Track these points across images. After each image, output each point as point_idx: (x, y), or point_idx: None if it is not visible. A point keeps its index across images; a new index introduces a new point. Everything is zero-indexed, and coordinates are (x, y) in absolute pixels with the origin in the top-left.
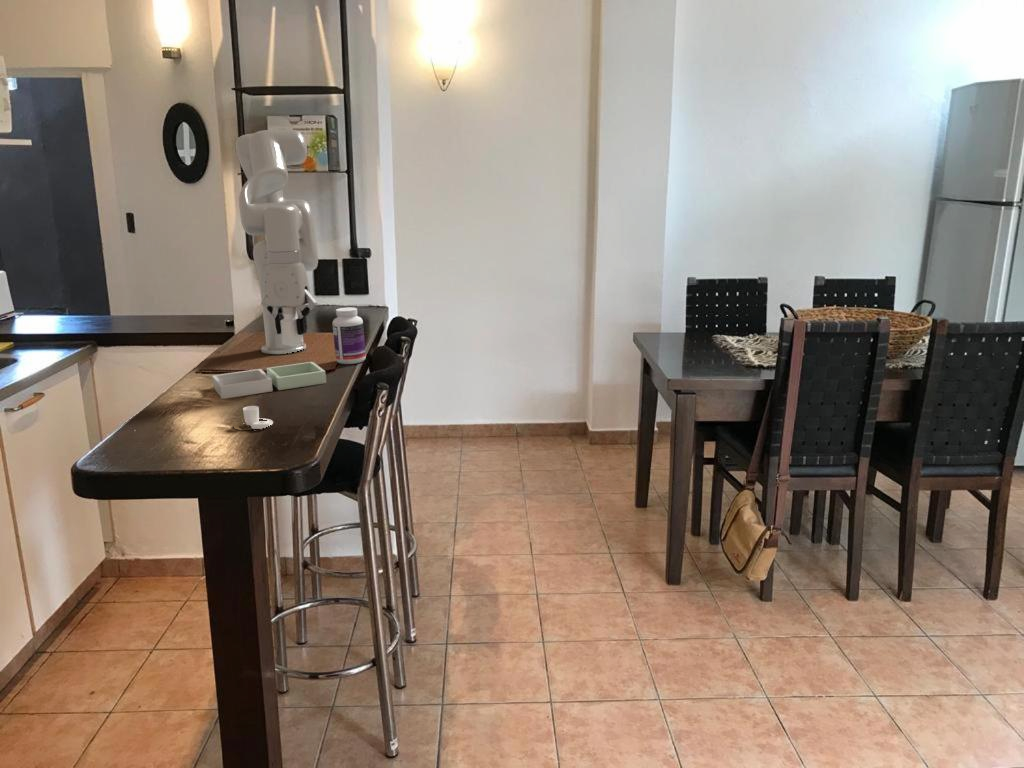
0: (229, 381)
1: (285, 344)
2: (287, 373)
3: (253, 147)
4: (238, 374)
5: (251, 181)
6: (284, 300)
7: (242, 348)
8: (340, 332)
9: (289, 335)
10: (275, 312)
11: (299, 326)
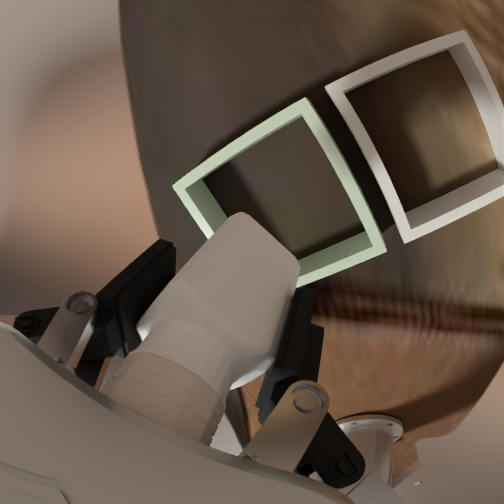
0: (479, 184)
1: (278, 242)
2: (323, 254)
3: None
4: (464, 201)
5: None
6: (47, 440)
7: (429, 436)
8: None
9: (219, 233)
10: (287, 418)
11: (133, 263)
